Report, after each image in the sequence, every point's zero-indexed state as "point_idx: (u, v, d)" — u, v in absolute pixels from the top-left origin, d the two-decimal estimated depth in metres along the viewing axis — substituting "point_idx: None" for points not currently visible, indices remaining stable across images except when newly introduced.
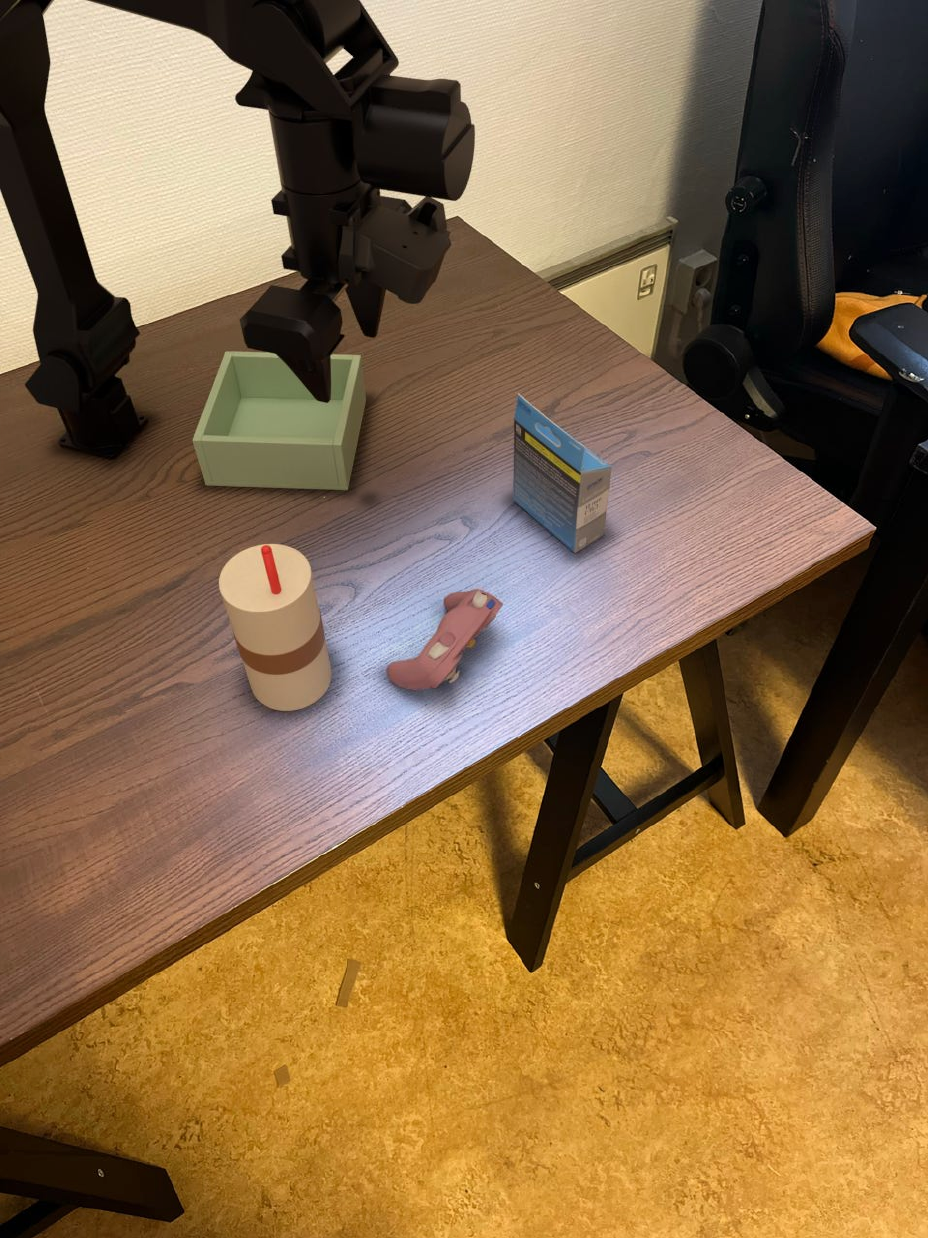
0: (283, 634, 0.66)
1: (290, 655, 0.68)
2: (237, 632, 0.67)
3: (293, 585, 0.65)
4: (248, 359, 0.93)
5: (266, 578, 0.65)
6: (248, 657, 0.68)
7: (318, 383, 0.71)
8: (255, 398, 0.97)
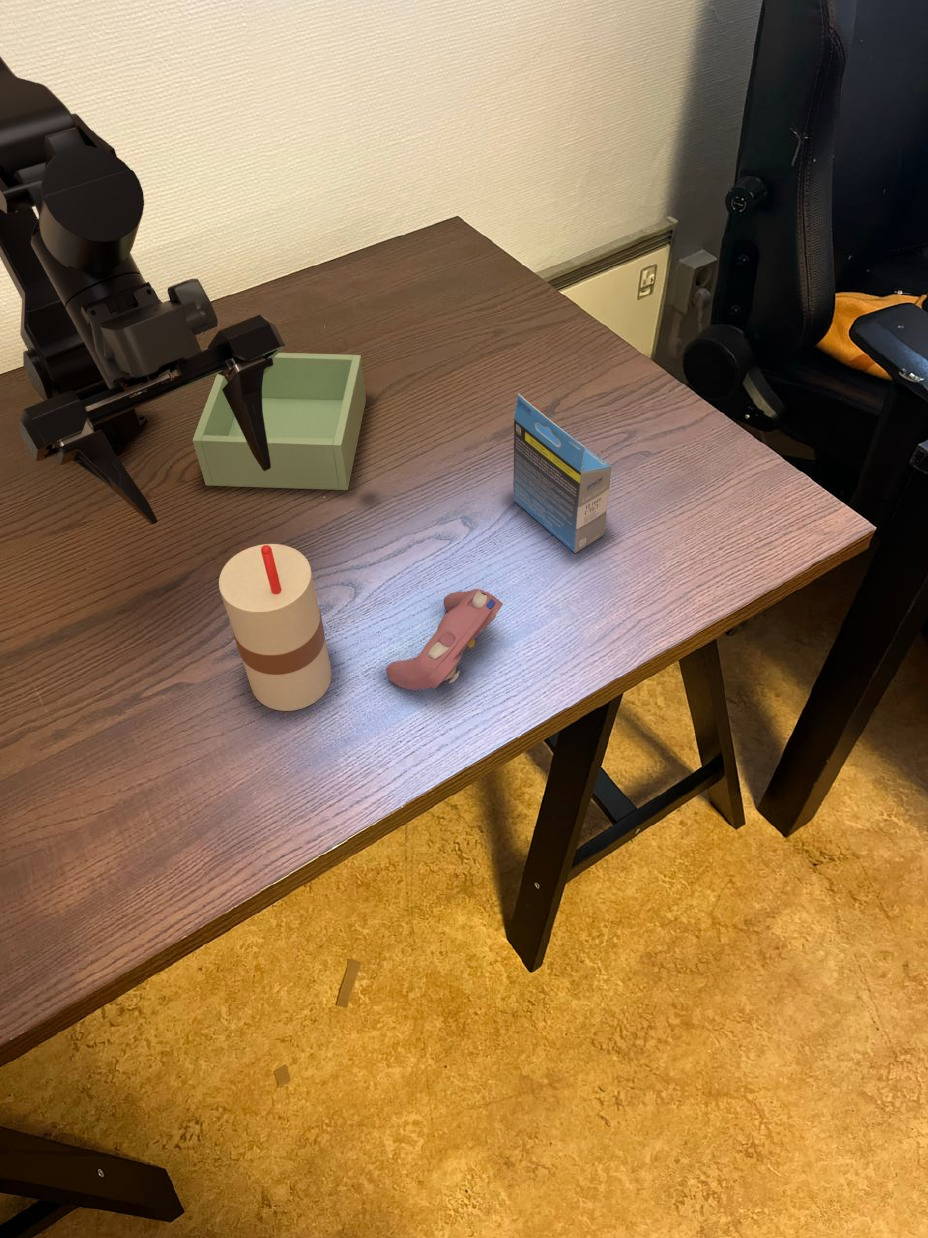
0: (283, 634, 0.66)
1: (290, 655, 0.68)
2: (237, 632, 0.67)
3: (293, 585, 0.65)
4: None
5: (266, 578, 0.65)
6: (248, 657, 0.68)
7: (127, 498, 0.66)
8: None
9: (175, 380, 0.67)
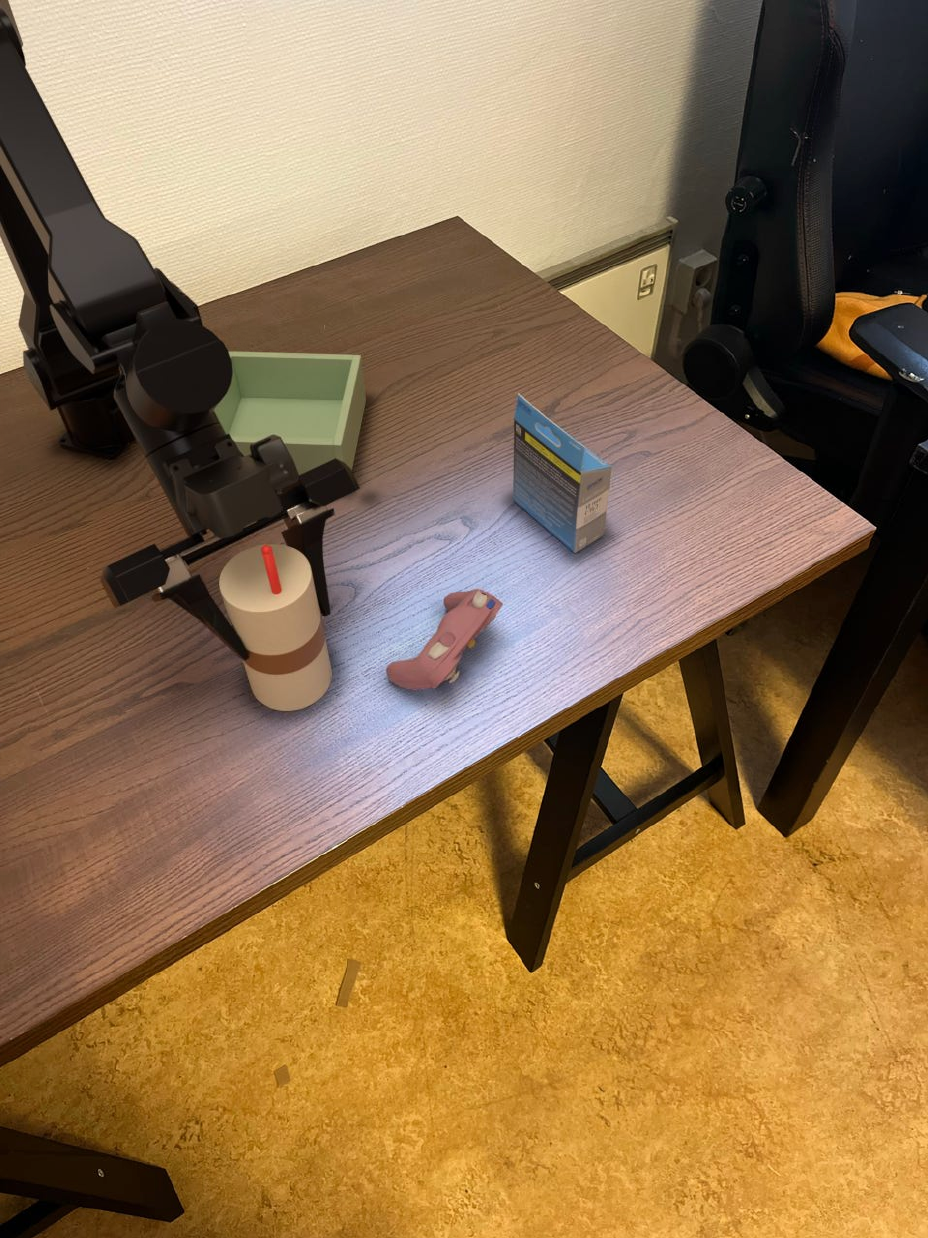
0: (283, 634, 0.66)
1: (290, 655, 0.68)
2: (237, 632, 0.67)
3: (293, 585, 0.65)
4: (248, 359, 0.93)
5: (266, 578, 0.65)
6: None
7: (220, 636, 0.67)
8: (255, 398, 0.97)
9: (237, 532, 0.67)
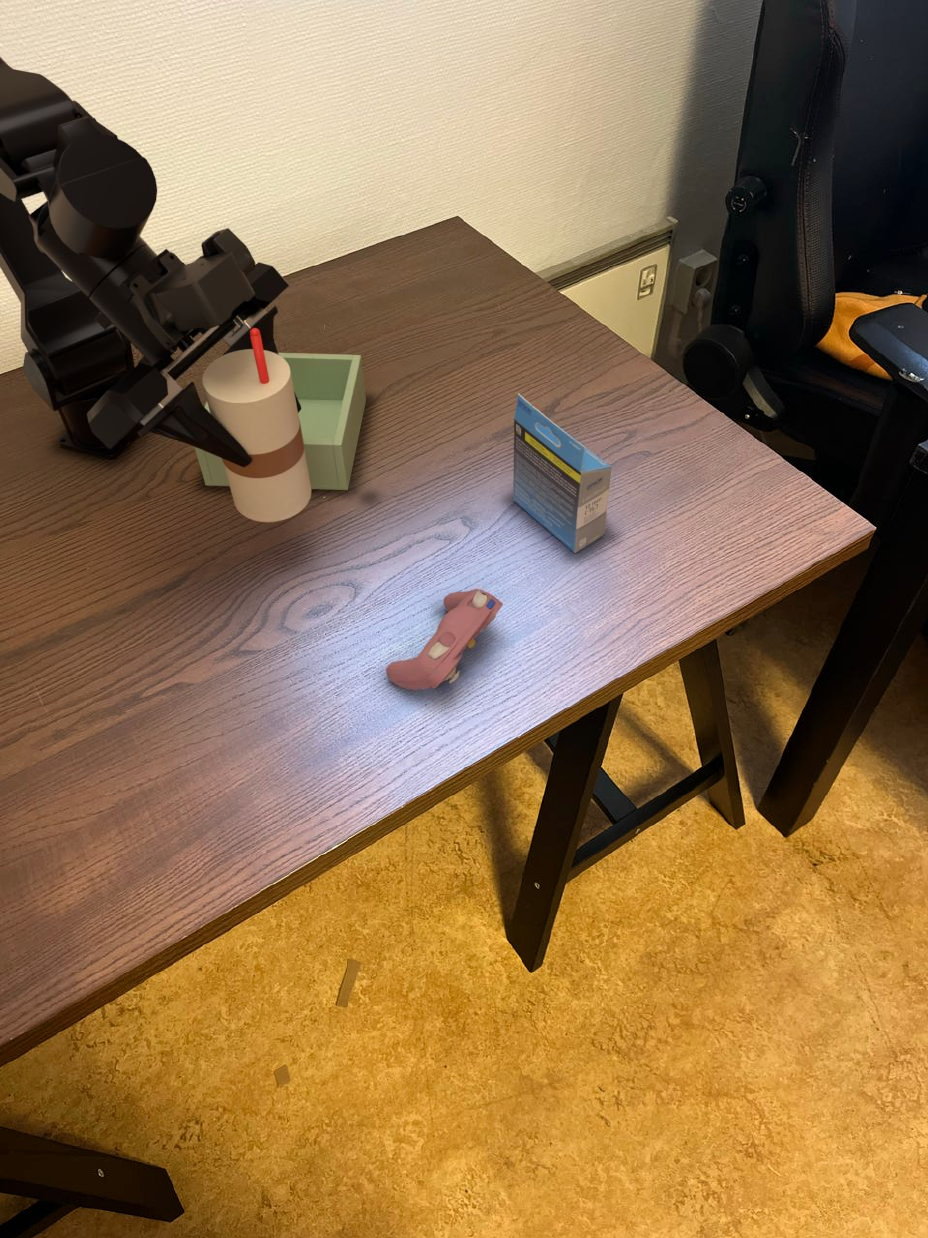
0: (281, 423, 0.70)
1: (287, 447, 0.72)
2: (235, 437, 0.69)
3: (277, 373, 0.69)
4: None
5: (248, 375, 0.69)
6: None
7: (221, 446, 0.69)
8: None
9: (198, 348, 0.69)
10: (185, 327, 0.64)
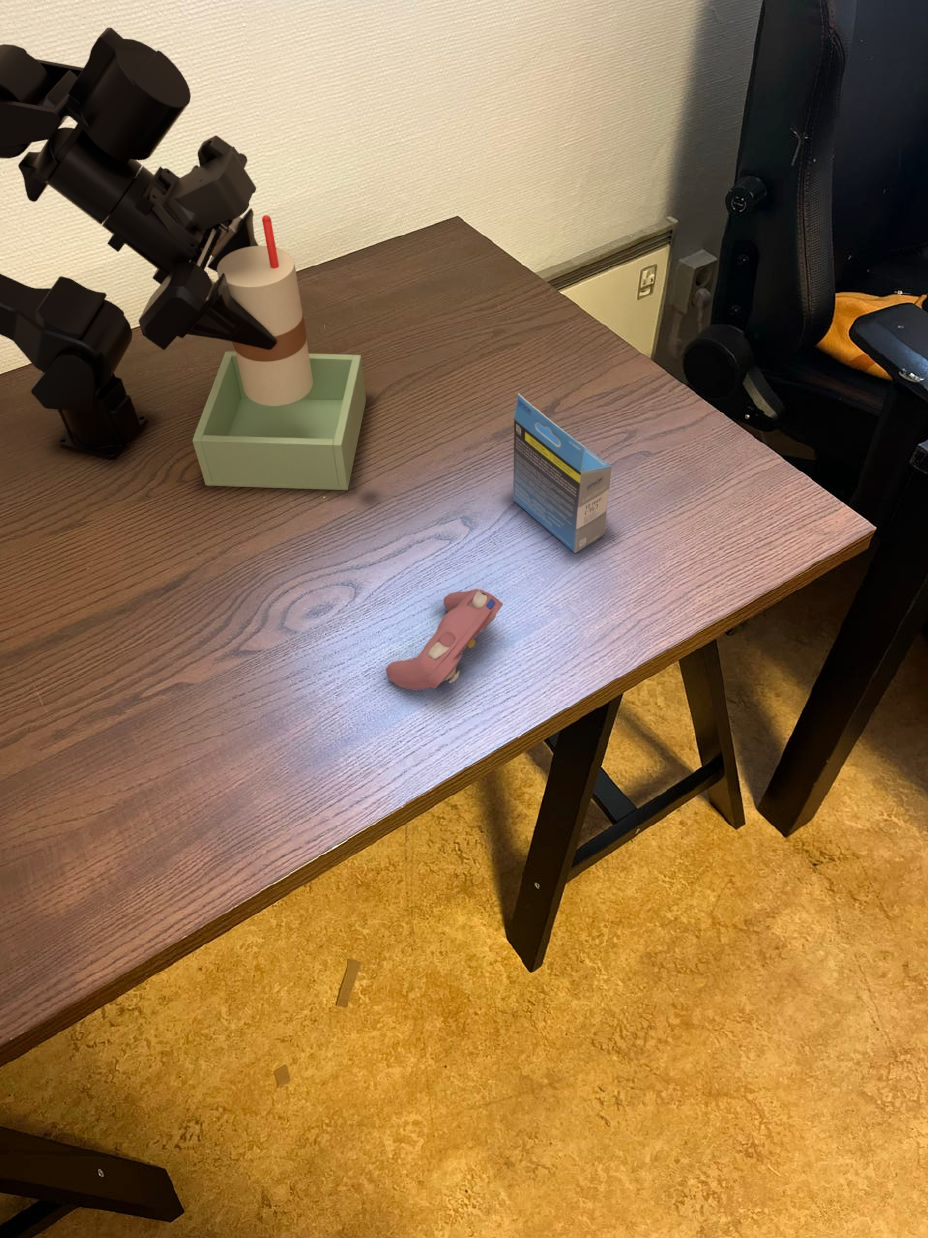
0: (295, 301, 0.80)
1: (299, 326, 0.82)
2: (260, 322, 0.79)
3: (281, 258, 0.79)
4: None
5: (258, 265, 0.78)
6: None
7: (251, 331, 0.78)
8: None
9: None
10: (209, 224, 0.73)
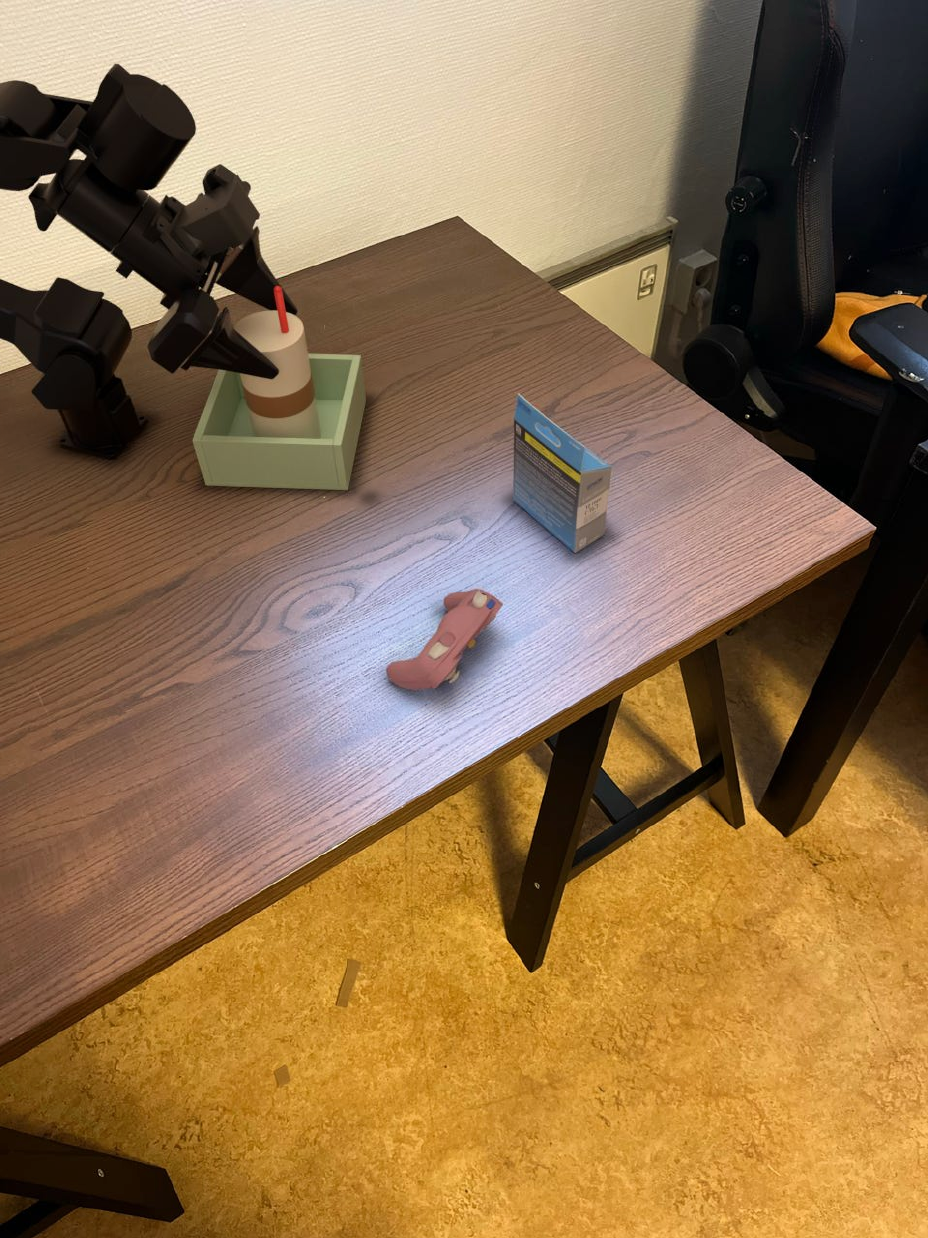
0: (304, 363, 0.85)
1: (308, 384, 0.87)
2: (272, 383, 0.84)
3: (291, 323, 0.84)
4: None
5: (269, 330, 0.83)
6: (281, 406, 0.86)
7: (254, 362, 0.80)
8: None
9: None
10: (214, 251, 0.75)
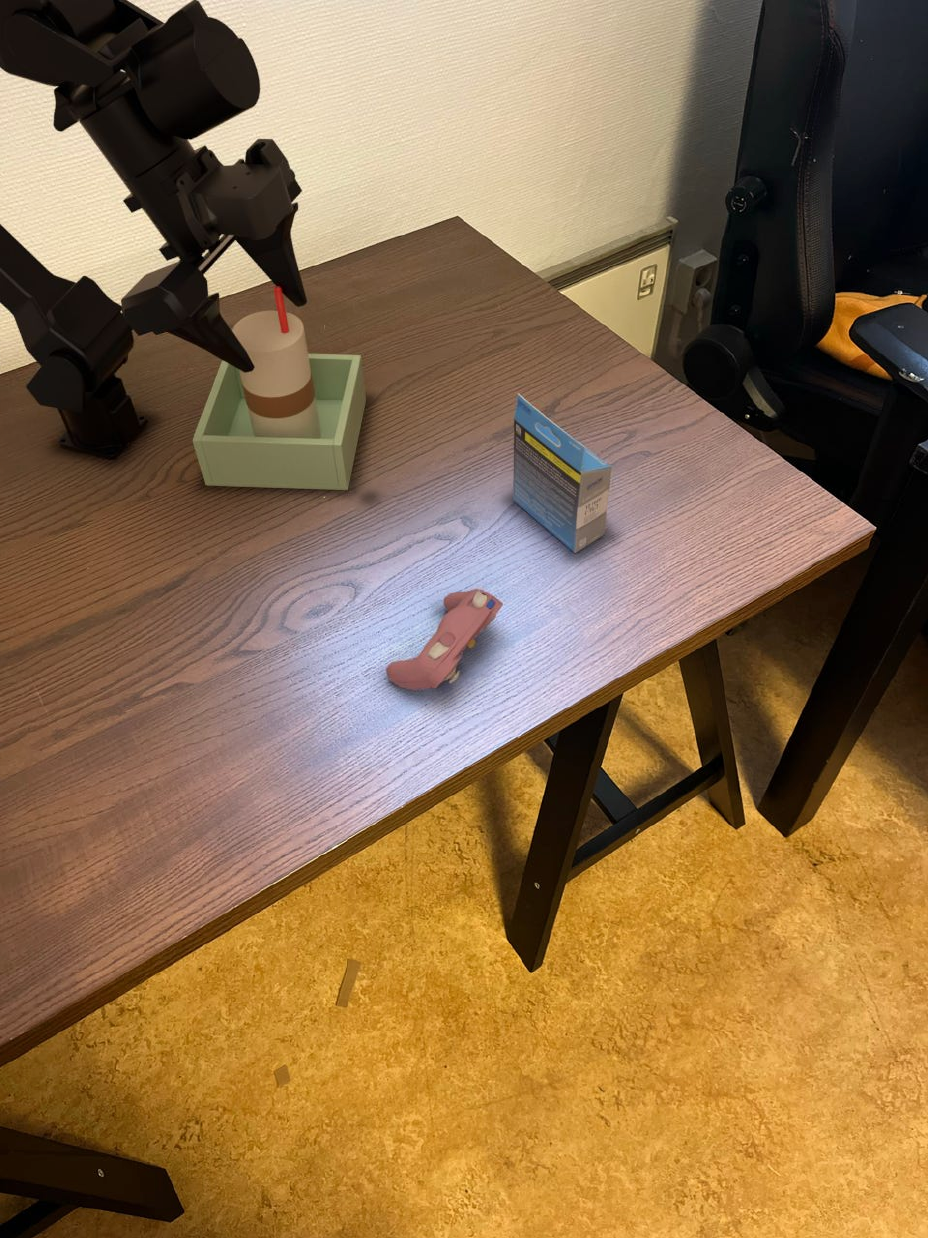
0: (304, 363, 0.85)
1: (308, 384, 0.87)
2: (272, 383, 0.84)
3: (291, 323, 0.84)
4: None
5: (269, 330, 0.83)
6: (281, 406, 0.86)
7: (230, 352, 0.74)
8: None
9: None
10: (228, 232, 0.69)
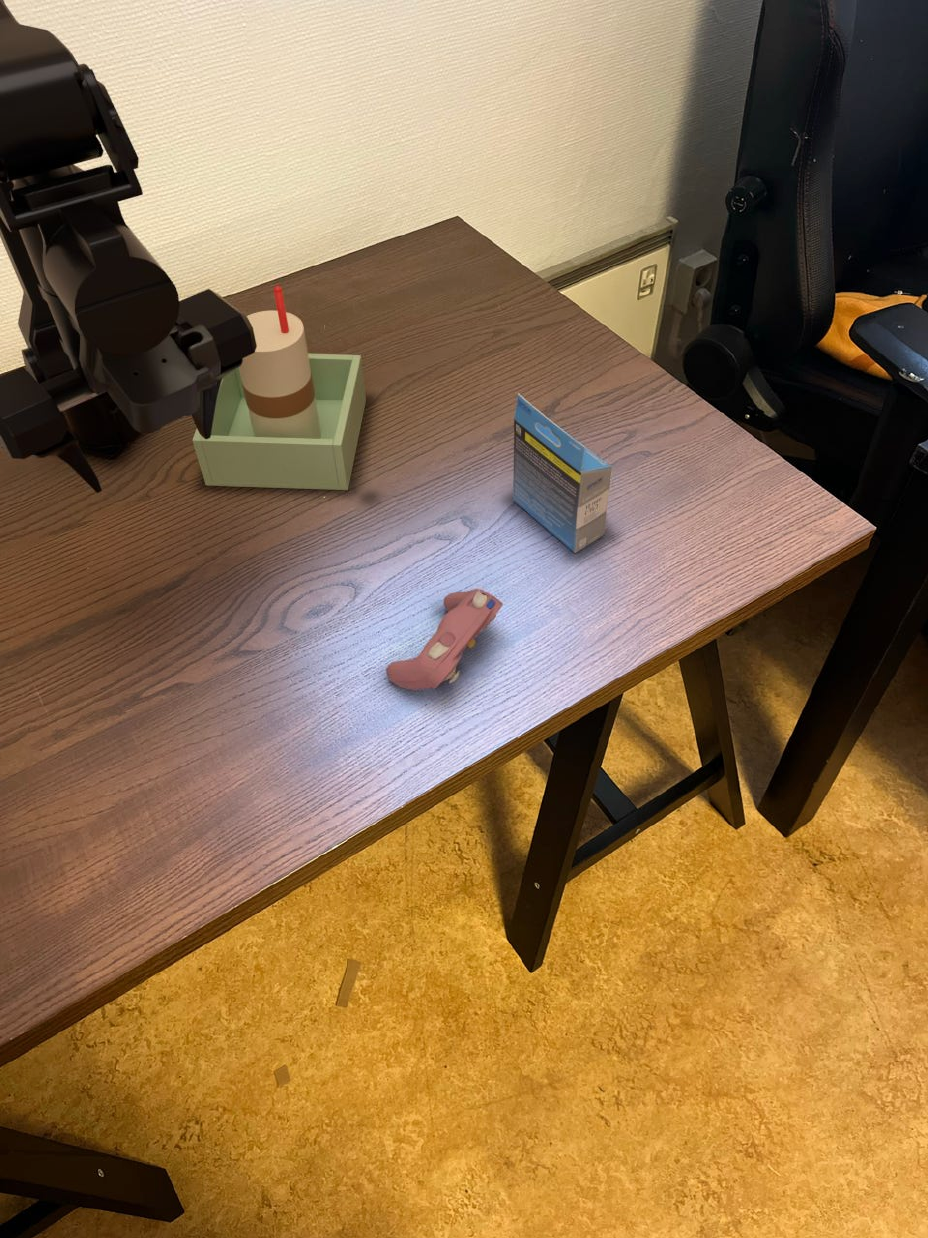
0: (304, 363, 0.85)
1: (308, 384, 0.87)
2: (272, 383, 0.84)
3: (291, 323, 0.84)
4: None
5: (269, 330, 0.83)
6: (281, 406, 0.86)
7: None
8: None
9: None
10: (113, 399, 0.61)
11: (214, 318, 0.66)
